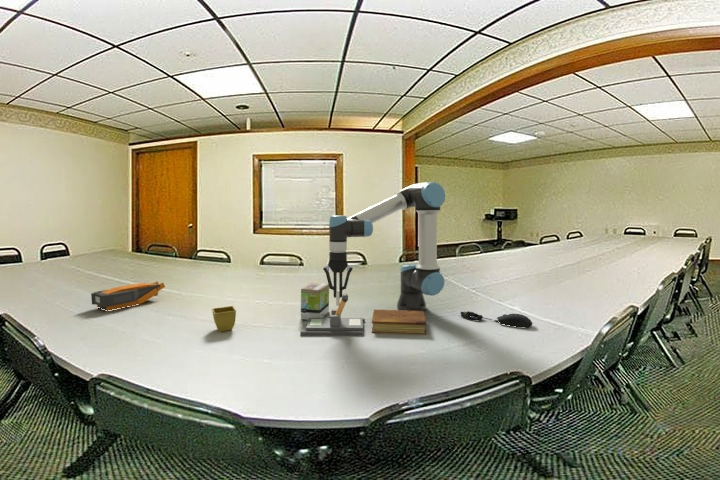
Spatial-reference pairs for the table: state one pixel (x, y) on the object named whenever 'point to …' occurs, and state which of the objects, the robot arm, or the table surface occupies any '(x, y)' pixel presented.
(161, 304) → the table surface
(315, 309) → the tea box
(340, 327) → the breaker panel
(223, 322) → the flower pot
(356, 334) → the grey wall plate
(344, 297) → the lever
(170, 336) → the table surface
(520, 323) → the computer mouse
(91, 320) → the table surface
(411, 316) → the diary
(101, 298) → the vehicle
